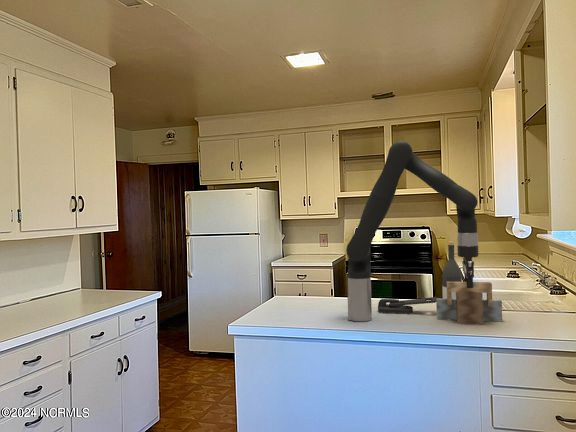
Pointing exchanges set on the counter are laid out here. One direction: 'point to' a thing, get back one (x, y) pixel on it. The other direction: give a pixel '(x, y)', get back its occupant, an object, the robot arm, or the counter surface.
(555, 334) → the counter surface
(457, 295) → the grey brown blocky piece
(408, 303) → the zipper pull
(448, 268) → the wine bottle
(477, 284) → the wooden bridge block
